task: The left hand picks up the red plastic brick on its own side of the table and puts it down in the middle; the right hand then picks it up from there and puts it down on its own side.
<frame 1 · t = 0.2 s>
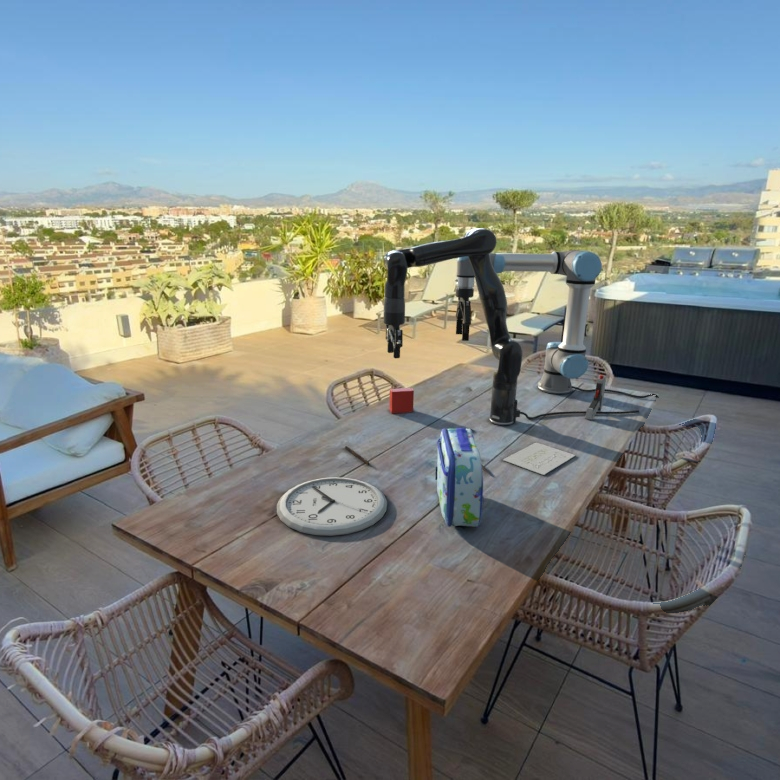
left hand: (393, 355, 188), 29 cm above the table, tool pointing down, fingers open, 8 cm apart
right hand: (462, 337, 225), 28 cm above the table, tool pointing down, fingers open, 13 cm apart
wall clock: (332, 505, 143), on the table
toy gun: (593, 415, 216), on the table
fork: (476, 464, 169), on the table
invitation card: (539, 458, 174), on the table
brick: (401, 411, 217), on the table
brown thin stick: (356, 456, 173), on the table
lunch box: (456, 508, 142), on the table
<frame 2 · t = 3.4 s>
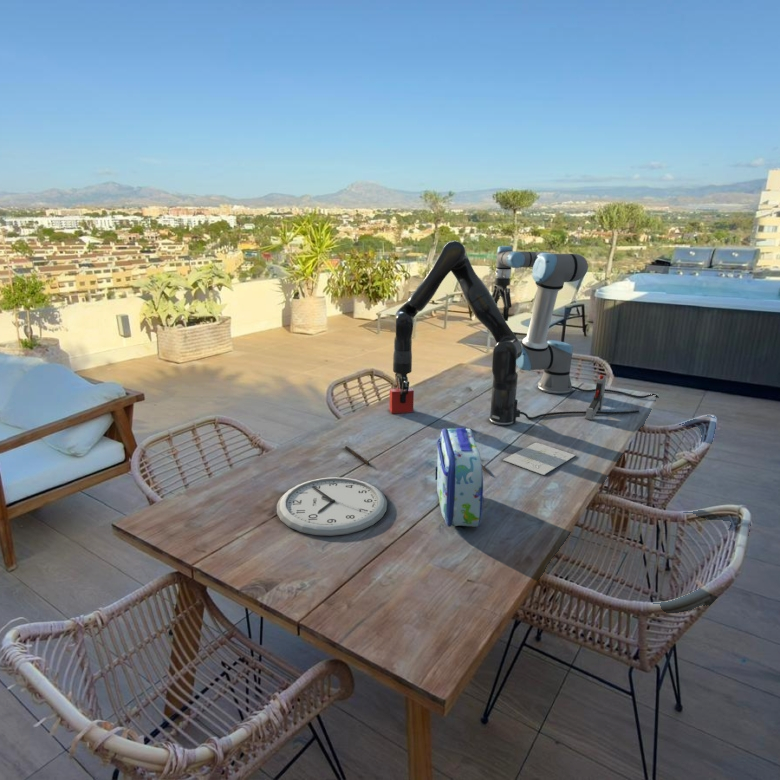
left hand: (401, 400, 215), 5 cm above the table, tool pointing down, fingers closed on brick, 4 cm apart
right hand: (499, 318, 274), 28 cm above the table, tool pointing down, fingers open, 13 cm apart
brick: (401, 411, 217), on the table, touching left hand
everything else where it was.
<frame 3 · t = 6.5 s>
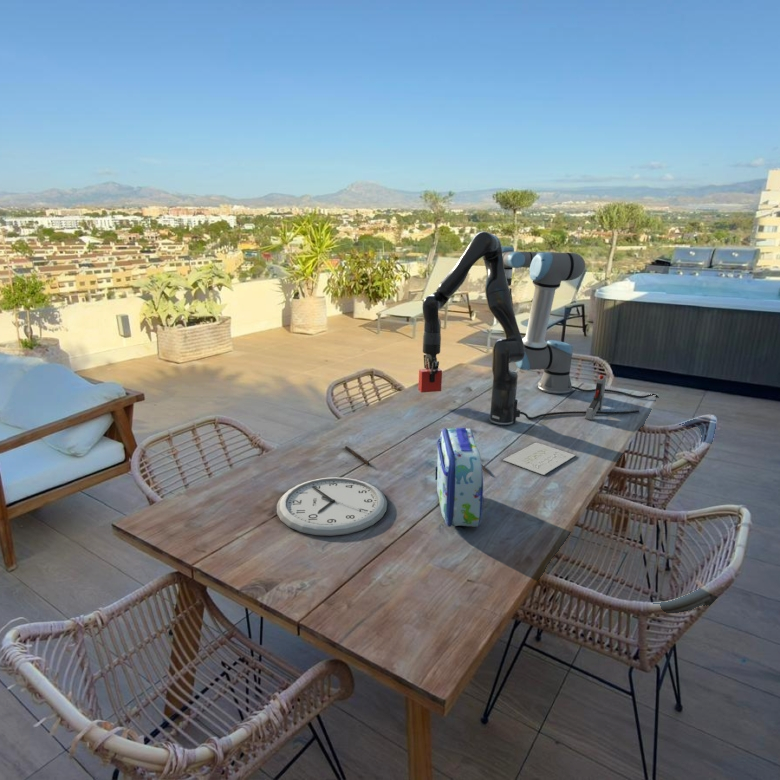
left hand: (430, 380, 227), 9 cm above the table, tool pointing down, fingers closed on brick, 4 cm apart
right hand: (501, 318, 277), 28 cm above the table, tool pointing down, fingers open, 13 cm apart
brick: (429, 390, 229), point 5 cm above the table, touching left hand
everything else where it was.
when the left hand's fingers open (6 cm above the table, at t = 9.6 s): brick drops 1 cm, on the table.
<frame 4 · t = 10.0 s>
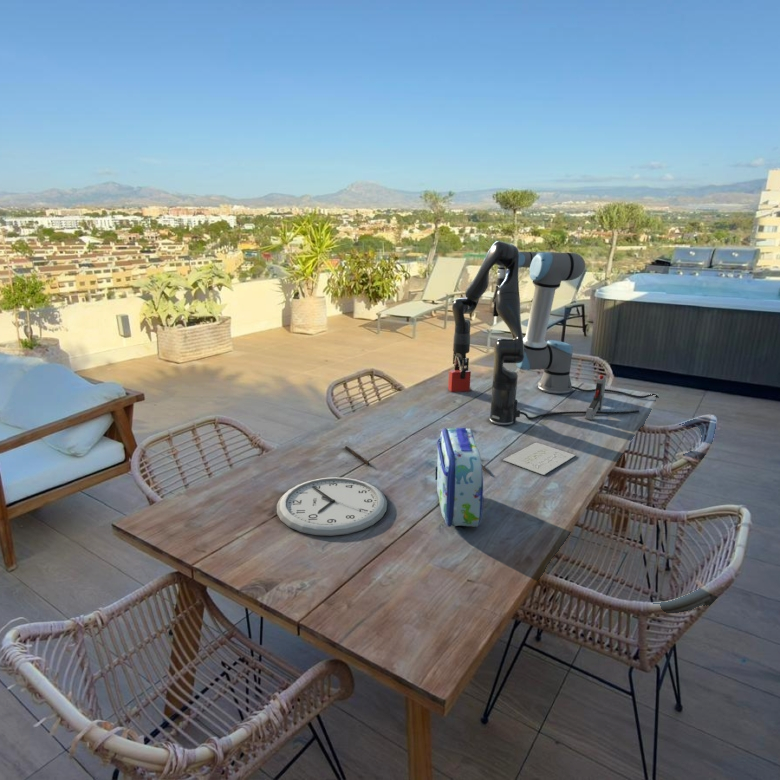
left hand: (459, 376, 244), 7 cm above the table, tool pointing down, fingers open, 7 cm apart
right hand: (501, 318, 277), 28 cm above the table, tool pointing down, fingers open, 13 cm apart
brick: (458, 390, 246), on the table
everything else where it was.
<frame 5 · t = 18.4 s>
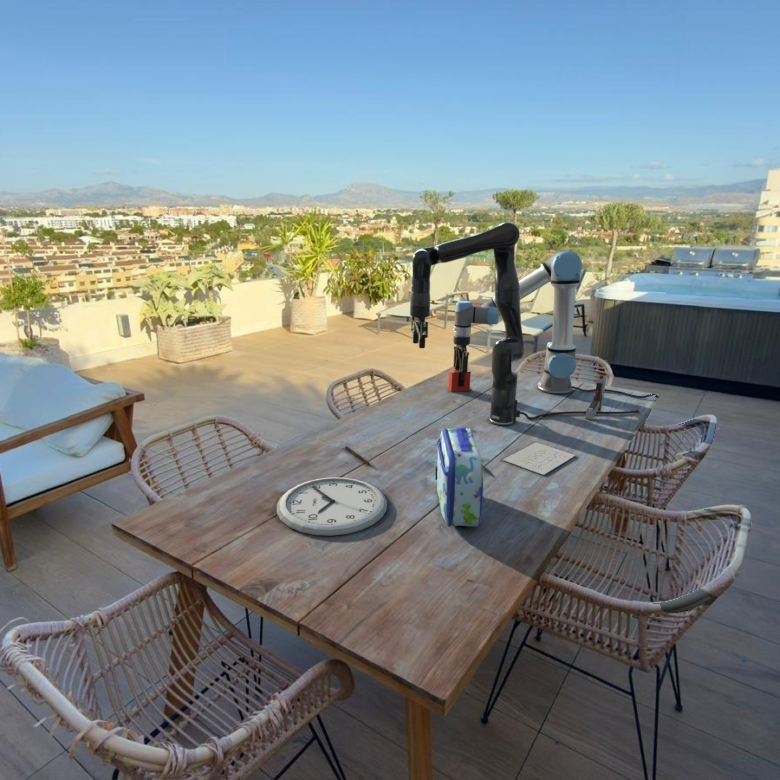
left hand: (418, 345, 203), 29 cm above the table, tool pointing down, fingers open, 8 cm apart
right hand: (459, 384, 245), 3 cm above the table, tool pointing down, fingers closed on brick, 4 cm apart
brick: (458, 390, 246), on the table, touching right hand
everything else where it was.
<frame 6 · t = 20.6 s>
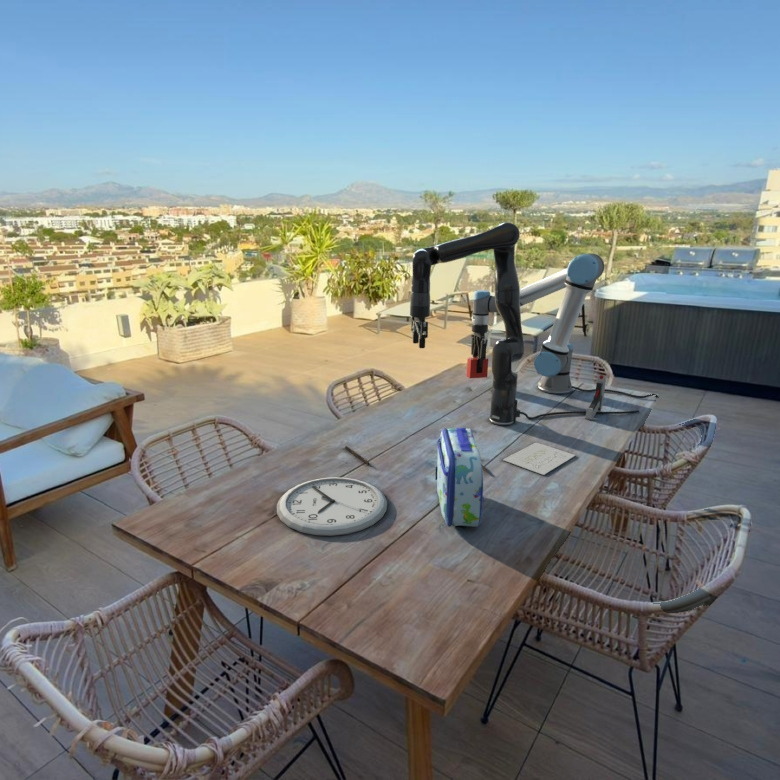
left hand: (418, 345, 203), 29 cm above the table, tool pointing down, fingers open, 8 cm apart
right hand: (477, 371, 254), 7 cm above the table, tool pointing down, fingers closed on brick, 4 cm apart
brick: (476, 376, 255), point 4 cm above the table, touching right hand
everything else where it was.
when the right hand's fingers open (4 cm above the table, at t = 22.8 s): brick drops 2 cm, on the table.
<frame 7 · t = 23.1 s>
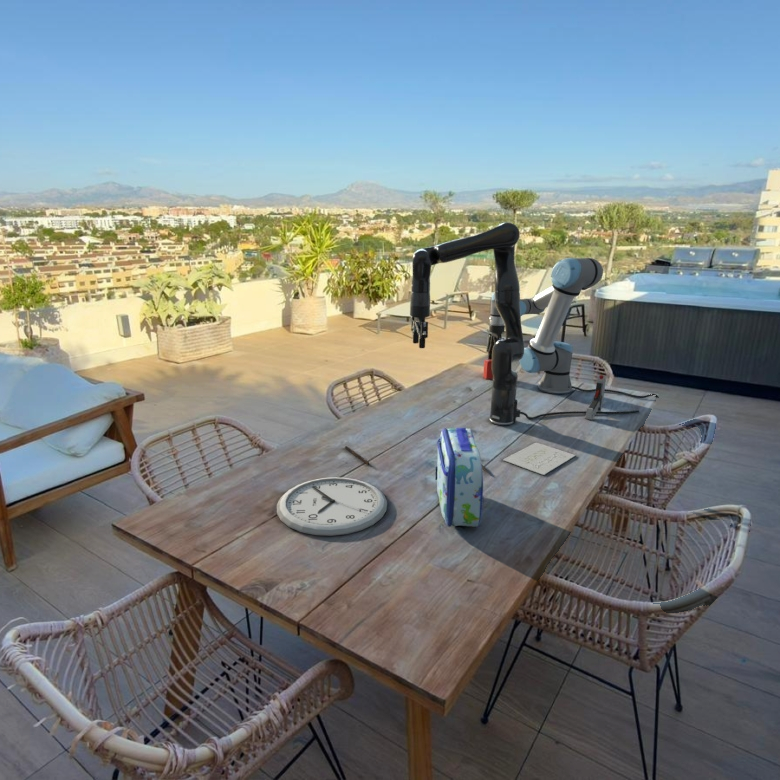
left hand: (418, 345, 203), 29 cm above the table, tool pointing down, fingers open, 8 cm apart
right hand: (493, 368, 266), 5 cm above the table, tool pointing down, fingers open, 8 cm apart
brick: (493, 377, 268), on the table
everything else where it was.
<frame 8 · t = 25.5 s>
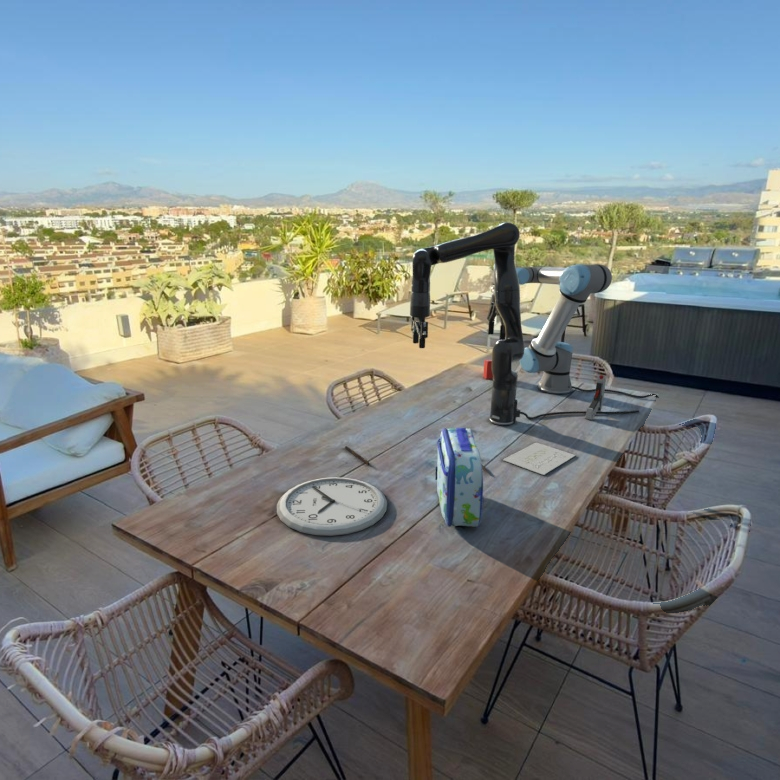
left hand: (418, 345, 203), 29 cm above the table, tool pointing down, fingers open, 8 cm apart
right hand: (496, 337, 261), 21 cm above the table, tool pointing down, fingers open, 13 cm apart
nothing on the table moved.
at the end: brick inside the target area (0.0 cm from its centre), on the table; brick tilted 0°; the two hands never held the brick at the same time; the left hand is holding nothing; the right hand is holding nothing; brick at rest at the end (0.0 cm/s) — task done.
